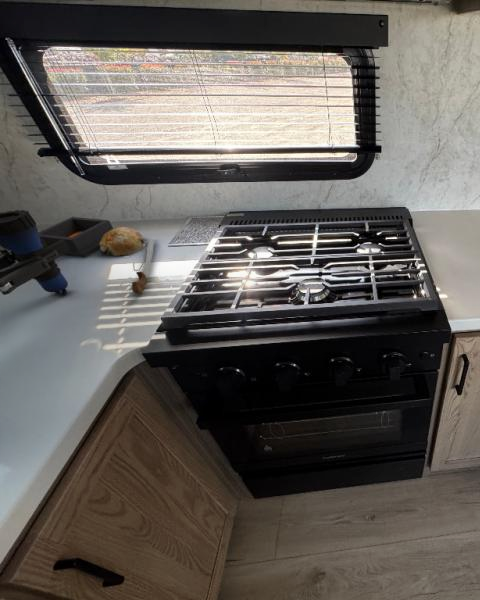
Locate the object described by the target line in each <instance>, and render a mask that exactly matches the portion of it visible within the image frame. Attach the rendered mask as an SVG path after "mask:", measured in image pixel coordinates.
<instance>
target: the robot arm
mask: <svg viewBox="0 0 480 600" xmlns="http://www.w3.org/2000/svg"><path fill="white" fill-rule="evenodd" d="M40 242H41V244H42V245H43V246H44V247H46V248H44V249H43V250H41V251H39V252H37V253H35V254H34V257H31V258H29V259H26V260H24V261H21V262H19V261H18V259H17V258H16V257H15V253H14V252H13V251H10V250H7V249H5V248H3V249H0V293H1V294H2V295H3V296H5V295H9V294H11V293H12V292H13V291H14V290H16V289H18V287H21V286H22V285H24V284H26V283H27V282H30V281H31V280H34V279H33V278H35V277H37V276H38V275H40V274H42V273H44V272H46V271H47V270H49V269H51V267H50V266H49V265H48V263H49V262H51V261H53V260H54V261H55V260H56V259H58V258H60V257H62V256H65V255H64V254H65V253H67V252H69V251H71V250H70V248H69V247H68V245H67V244H66V242H65V241H64V240H60V241H58V242H56V243H54V244H52V245H50V246H47V244H46V243H45V242H44V240H43V239H42V238H40Z"/></svg>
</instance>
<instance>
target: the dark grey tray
mask: <svg viewBox="0 0 480 600" xmlns="http://www.w3.org/2000/svg"><path fill="white" fill-rule="evenodd" d="M112 229H114V226H113V225H112V223H111V221H110V220H108V219H100V218H99V219H98V218H89V217H80V216H79V217H78V216H71V217H69V218H67V219H64V220H62V221H60V222H58V223H56V224H54V225H52V226H49V227H47V228H45V229H43V230H41V231H38V235H39V238H42V239H43V240H44V242H45V243H46V244H47V246H50V245H52V244H54V243H56V242H58V241H60V240H64V241H65V242H66V244H67V245H68V247H69V248H70V250H71V251H69V252H67V253H65V254H64V255H63V256H71V257H80V258H87V257H88V256H90V255H92V254H94V253H95V252H97V251H99V250H101V247H100V244H99V243H100V242H101V240H102V237H103V236H104V235H105V234H106V233H107V232H109V231H110V230H112Z"/></svg>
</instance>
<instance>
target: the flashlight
mask: <svg viewBox="0 0 480 600" xmlns="http://www.w3.org/2000/svg"><path fill="white" fill-rule="evenodd" d="M38 233H39V229H38V226H37V222H36V221H35V219H34V217H32V215H31V214H30V212H29V211H28V210H24V209H15V210H8V211H4V212H0V247H1V248H3V249H6V250H7V251H9V252H10V251H13V252H14V253H15V257H16V258H17V259H18V261H19V262H21V261H24V260H26V259H29V258H31V257H34V254H35V253H37V252H39V251H41V250H43V249H44V248H46V247H44V246H43V245H42V244H41V242H40V238H39V235H38ZM18 261H17V262H18ZM19 262H18V263H19ZM48 265H49V266H50V267H51V269H49V270H47V271H46V272H44V273H42V274H40V275H38V276H37V277H35V278H33V279H32V280H35V281H36V282H37V283H38V284H39V285H40V287H41V288H42V289H43V290H44V291H45V292H48V293H52V294H53V293H55V294H56V295H58V296H67V294H68V290H67V288H68V286H69V283H68V281H67V278H65V276H64V274H63V273H62V272H61V271H62V270H61V268H60V267H58V264H57V262H56V261H55V260H53V261H51V262H49V263H48Z"/></svg>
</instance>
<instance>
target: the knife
mask: <svg viewBox="0 0 480 600" xmlns="http://www.w3.org/2000/svg"><path fill="white" fill-rule="evenodd" d="M154 243H155V240H154V239H151V240H150V241H149V242H148V244H147V250H146V258H145V263H144V266H143V268H142V270H140V271H136V272H135V273H136V275H137V278H138V281H132V283H131V290H132V293H134V294H142V293H143V291H144V290H145V287H146V284H147V282H148V276H149V271H150V268H151V263H152V259H153V253H154V246H155V245H154Z"/></svg>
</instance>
